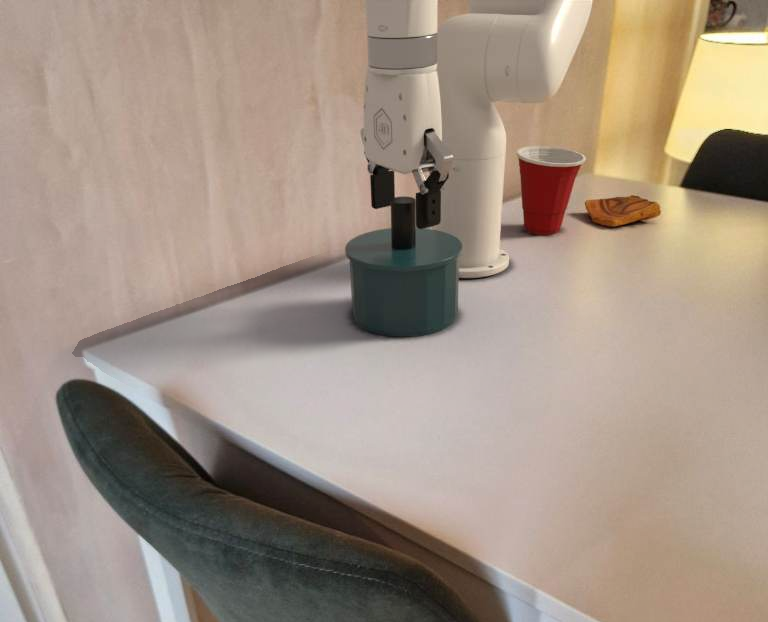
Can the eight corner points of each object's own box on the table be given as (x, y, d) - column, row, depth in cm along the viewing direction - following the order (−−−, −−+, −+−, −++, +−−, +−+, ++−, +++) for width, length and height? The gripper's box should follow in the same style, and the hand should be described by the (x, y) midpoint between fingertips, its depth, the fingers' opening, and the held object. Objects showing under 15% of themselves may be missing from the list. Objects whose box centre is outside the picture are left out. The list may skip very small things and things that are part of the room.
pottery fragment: (665, 203, 126) (613, 199, 122) (656, 232, 128) (605, 229, 125) (631, 189, 133) (582, 185, 130) (623, 217, 136) (575, 214, 133)
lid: (324, 251, 97) (320, 197, 93) (418, 229, 103) (418, 177, 99) (386, 286, 88) (385, 226, 83) (485, 259, 94) (489, 202, 90)
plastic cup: (577, 241, 121) (588, 160, 114) (509, 239, 123) (515, 159, 116) (576, 220, 130) (585, 144, 122) (511, 218, 131) (517, 143, 124)
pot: (334, 310, 102) (330, 247, 97) (417, 287, 108) (417, 226, 103) (390, 346, 93) (388, 278, 88) (477, 319, 99) (481, 253, 93)
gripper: (332, 50, 87) (342, 205, 97) (419, 67, 75) (420, 241, 86) (387, 43, 90) (391, 194, 100) (479, 58, 78) (473, 228, 89)
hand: (405, 216), depth 93 cm, fingers open, 9 cm apart
